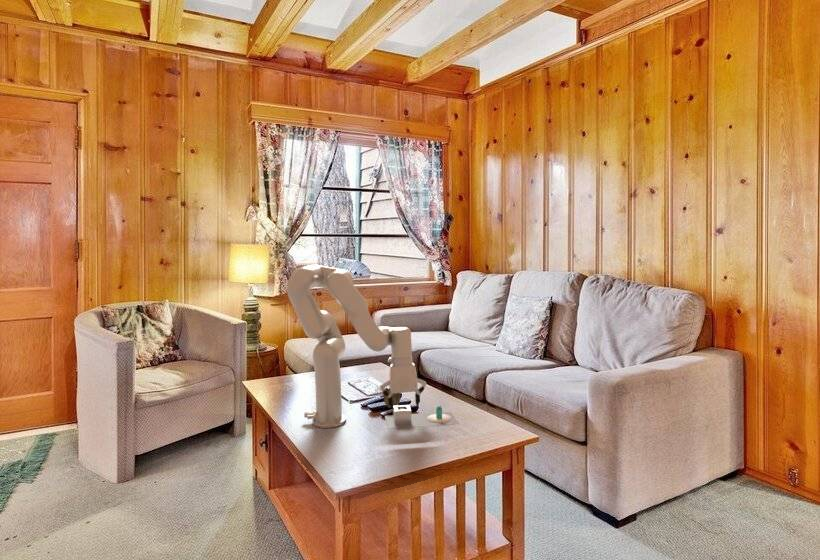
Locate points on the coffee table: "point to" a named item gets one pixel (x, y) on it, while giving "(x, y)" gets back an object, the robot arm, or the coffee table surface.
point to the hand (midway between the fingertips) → (404, 405)
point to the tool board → (424, 419)
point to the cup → (395, 398)
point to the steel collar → (402, 414)
